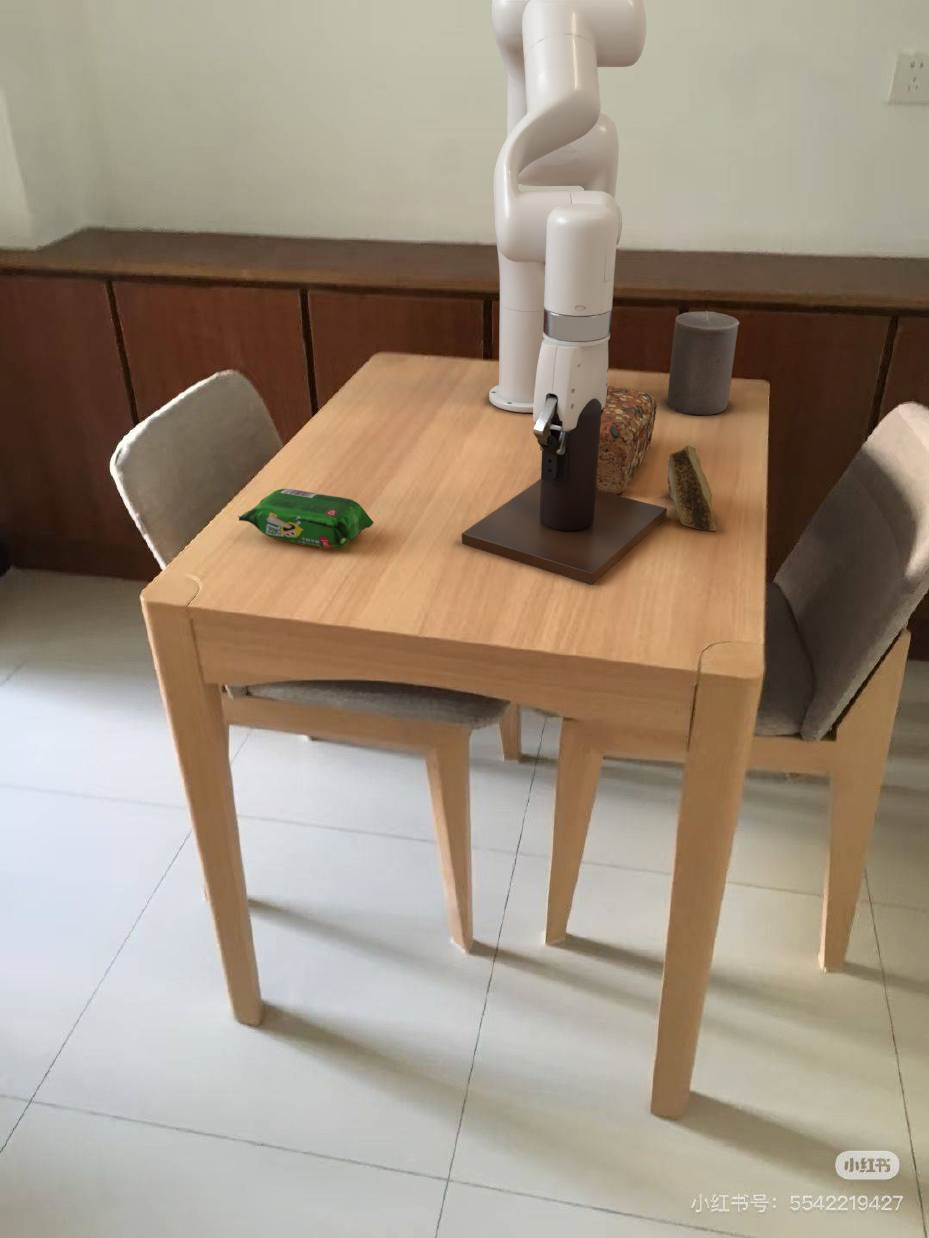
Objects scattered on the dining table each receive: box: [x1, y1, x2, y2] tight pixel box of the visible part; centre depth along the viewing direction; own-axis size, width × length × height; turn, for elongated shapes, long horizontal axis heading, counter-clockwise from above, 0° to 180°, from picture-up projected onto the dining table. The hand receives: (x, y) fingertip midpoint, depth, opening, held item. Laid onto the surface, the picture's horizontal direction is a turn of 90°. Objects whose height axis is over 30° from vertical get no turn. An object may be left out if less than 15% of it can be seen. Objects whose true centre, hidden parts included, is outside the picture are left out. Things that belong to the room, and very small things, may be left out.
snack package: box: [237, 488, 375, 550], centre depth 126 cm, size 7×16×5 cm, turn 70°
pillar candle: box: [666, 310, 740, 416], centre depth 161 cm, size 10×10×15 cm
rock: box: [667, 444, 718, 532], centre depth 131 cm, size 11×9×10 cm
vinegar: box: [540, 398, 602, 531], centre depth 122 cm, size 7×7×20 cm
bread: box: [596, 385, 658, 495], centre depth 142 cm, size 19×11×10 cm, turn 159°
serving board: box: [461, 478, 668, 585], centre depth 128 cm, size 20×18×2 cm
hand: (569, 470), depth 124 cm, fingers closed on vinegar, 6 cm apart
